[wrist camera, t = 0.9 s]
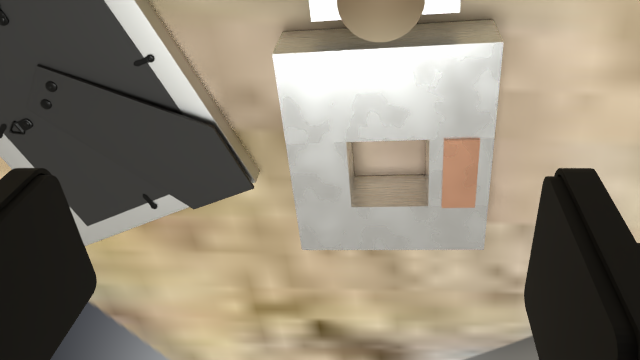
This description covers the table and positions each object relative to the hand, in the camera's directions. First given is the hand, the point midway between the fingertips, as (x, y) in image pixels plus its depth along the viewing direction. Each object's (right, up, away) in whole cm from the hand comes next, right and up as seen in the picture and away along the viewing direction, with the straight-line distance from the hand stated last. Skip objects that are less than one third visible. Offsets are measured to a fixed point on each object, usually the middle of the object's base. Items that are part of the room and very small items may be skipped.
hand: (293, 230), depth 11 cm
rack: (+5, +7, +23) cm, 24 cm away
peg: (+4, +12, +17) cm, 22 cm away
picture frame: (-15, +7, +26) cm, 31 cm away
